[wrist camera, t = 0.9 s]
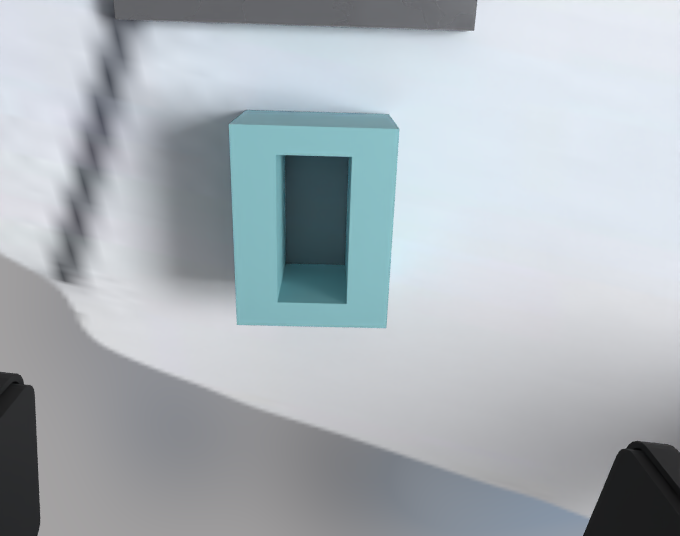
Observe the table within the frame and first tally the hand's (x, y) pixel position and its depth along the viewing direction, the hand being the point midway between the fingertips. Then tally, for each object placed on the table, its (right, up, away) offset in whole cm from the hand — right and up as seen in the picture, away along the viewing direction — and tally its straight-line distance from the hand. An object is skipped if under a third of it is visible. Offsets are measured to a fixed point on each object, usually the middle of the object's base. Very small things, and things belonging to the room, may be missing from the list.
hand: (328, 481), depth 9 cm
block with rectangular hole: (-1, +7, +21) cm, 22 cm away
